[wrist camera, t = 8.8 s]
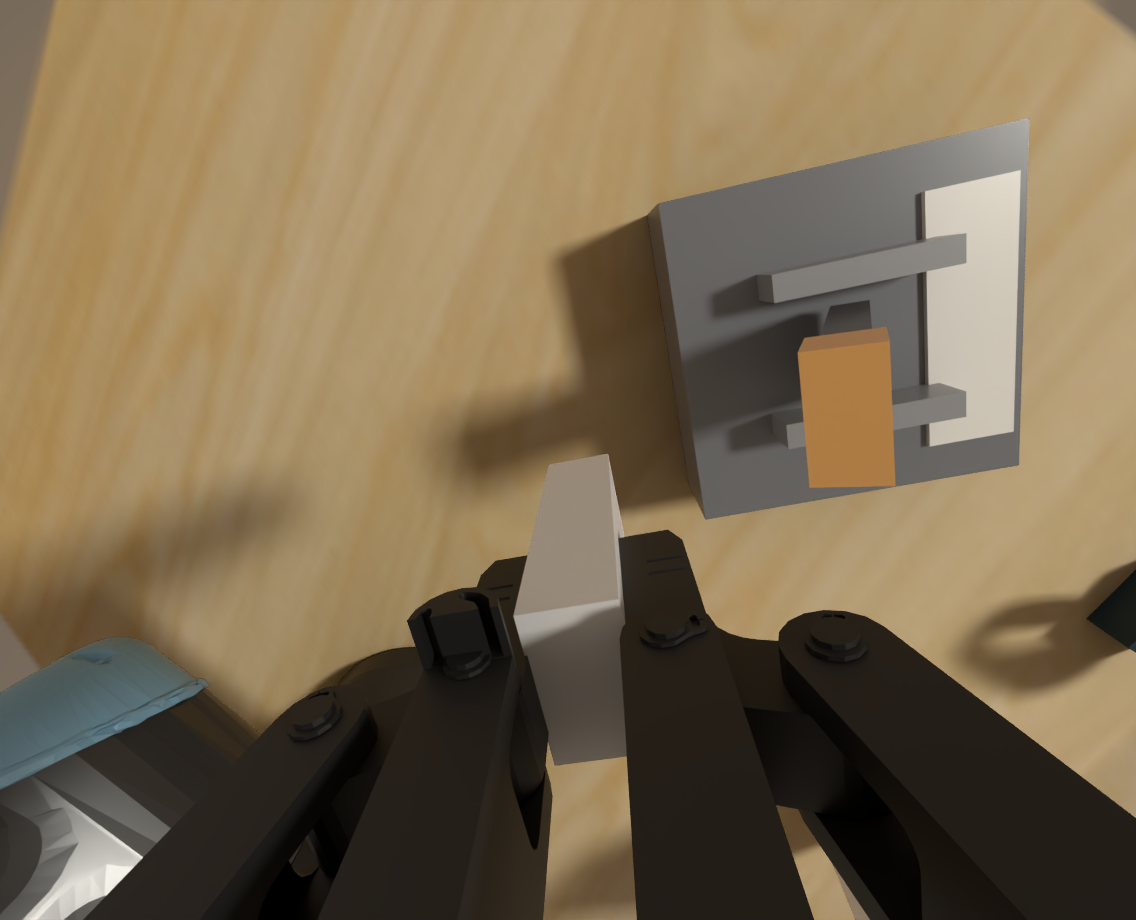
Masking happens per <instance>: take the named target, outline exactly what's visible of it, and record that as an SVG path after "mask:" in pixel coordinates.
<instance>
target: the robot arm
mask: <svg viewBox="0 0 1136 920" xmlns="http://www.w3.org/2000/svg"><path fill="white" fill-rule="evenodd" d="M407 622H408V625H409V628H410V631H411V634H412V637H413V640H414V643H415V646H416V648H403V649H396V650H391V651H387V652H383V653H380V654H377V655H375V656H372V657H370V658H368V659H366V660H364V661H362V662H361V663H359V664H358V665H356V666H355V667H354V668H352V669H351V670H350V671H349V672H348V673H347V674H346V675H345V676H344V677H343V678H342V679H341V681H340V682H339V683H338V685H337V686H334V687H329V688H325V689H322V690H321V691H316V692H314V693H311V694H309V695H308V696H307V697H305V698H304V699H302V700H300V701H298V702H297V703H295V704H293V705H292V706H291V707H290V708H289V709H288V710H286V711H285V712H284V713H283V714H282V715H280V716H279V717H278V718H277V719H276V720H275V721H274V722H273V723H272V724H271V725H270V726H269V727H268V729H267V730H266V731H265V732H264V733H263V734H262V735H261V734H260V733H259V732H258V731H256V730H255V729H254V728H253V727H252V726H250V725H249V724H248V723H247V722H246V721H244V720H243V719H242V718H241V717H240V716H238V715H237V714H236V713H235V712H234V711H232V710H231V709H230V708H229V707H228V706H226V705H225V704H224V703H223V702H222V701H220V700H219V699H218V698H217V697H216V696H214V695H213V694H212V693H211V692H210V691H208V690H207V689H206V687H208V686H209V685H210V684H209V683H208V682H207V681H206V680H204V679H201V678H199V679H195V678H194V677H193V676H191V675H190V674H188V673H187V672H186V671H184V670H183V669H182V668H180V667H179V666H178V665H176V664H175V663H174V662H172V661H171V660H170V659H168V658H167V657H166V656H164V655H163V654H162V653H160V652H159V651H158V650H156V649H155V648H153V647H152V646H151V645H149V644H147V643H146V642H144V641H141V640H138V639H135V638H129V637H113V638H107V639H103V640H99V641H96V642H94V643H91V644H88V645H86V646H83V647H81V648H79V649H77V650H75V651H73V652H71V653H69V654H67V655H65V656H63V657H62V658H60V659H58V660H56V661H54V662H53V663H51V664H49V665H47V666H45V667H44V668H42V669H40V670H39V671H37V672H35V673H33V674H32V675H30V676H28V677H26V678H25V679H23V680H22V681H19V682H18V683H16V684H14V685H13V686H11V687H9V688H7V689H6V690H4V691H2V692H1V693H0V920H543V913H544V900H545V887H546V874H547V861H548V848H549V835H550V822H551V809H552V790H551V783H550V780H549V776H548V773H547V769H546V766H545V764H546V754H547V744H548V743H549V746H550V750H551V754H552V757H553V761H554V764H555V765H563V764H571V763H579V762H586V761H594V760H602V759H610V758H618V757H625V756H627V767H628V783H629V799H630V815H631V831H632V847H633V863H634V879H635V895H636V911H637V920H814V918H813V915H812V912H811V909H810V906H809V903H808V900H807V897H806V894H805V891H804V888H803V885H802V882H801V879H800V876H799V873H798V870H797V867H796V864H795V861H794V858H793V855H792V852H791V849H790V846H789V843H788V840H787V837H786V834H785V831H784V828H783V825H782V822H781V819H780V816H779V813H778V810H777V807H776V805H779V806H785V807H790V808H796V809H799V811H800V813H801V816H802V818H803V820H804V822H805V823H806V825H807V826H808V828H809V829H810V831H811V832H812V834H813V835H814V837H815V838H816V840H817V841H818V843H819V844H820V846H821V847H822V849H823V850H824V852H825V853H826V855H827V856H828V858H829V859H830V861H831V862H832V864H833V865H834V867H835V868H836V870H837V871H838V873H839V874H840V876H841V877H842V879H843V880H844V882H845V883H846V885H847V886H848V888H849V889H850V891H851V892H852V894H853V895H854V897H855V898H856V900H857V901H858V903H859V904H860V906H861V907H862V909H863V910H864V912H865V913H866V915H867V916H868V918H869V919H870V920H1136V818H1135V817H1134V816H1132V815H1131V814H1130V813H1128V812H1127V811H1126V810H1124V809H1123V808H1122V807H1121V806H1119V805H1118V804H1117V803H1115V802H1114V801H1113V800H1111V799H1110V798H1109V797H1107V796H1106V795H1105V794H1103V793H1102V792H1101V791H1100V790H1098V789H1097V788H1096V787H1094V786H1093V785H1092V784H1090V783H1089V782H1088V781H1086V780H1085V779H1084V778H1082V777H1081V776H1080V775H1078V774H1077V773H1076V772H1075V771H1073V770H1072V769H1071V768H1069V767H1068V766H1067V765H1065V764H1064V763H1063V762H1061V761H1060V760H1059V759H1057V758H1056V757H1055V756H1054V755H1052V754H1051V753H1050V752H1048V751H1047V750H1046V749H1044V748H1043V747H1042V746H1040V745H1039V744H1038V743H1036V742H1035V741H1034V740H1032V739H1031V738H1030V737H1029V736H1027V735H1026V734H1025V733H1023V732H1022V731H1021V730H1019V729H1018V728H1017V727H1015V726H1014V725H1013V724H1011V723H1010V722H1009V721H1008V720H1006V719H1005V718H1004V717H1002V716H1001V715H1000V714H998V713H997V712H996V711H994V710H993V709H992V708H990V707H989V706H988V705H986V704H985V703H984V702H983V701H981V700H980V699H979V698H977V697H976V696H975V695H973V694H972V693H971V692H969V691H968V690H967V689H965V688H964V687H963V686H962V685H960V684H959V683H958V682H956V681H955V680H954V679H952V678H951V677H950V676H948V675H947V674H946V673H944V672H943V671H942V670H940V669H939V668H938V667H937V666H935V665H934V664H933V663H931V662H930V661H929V660H927V659H926V658H925V657H923V656H922V655H921V654H919V653H918V652H917V651H916V650H914V649H913V648H912V647H910V646H909V645H908V644H906V643H905V642H904V641H902V640H901V639H900V638H898V637H897V636H896V635H894V634H893V633H892V632H891V631H889V630H888V629H887V628H885V627H884V626H882V625H880V624H879V623H877V622H875V621H873V620H871V619H869V618H868V617H865V616H862V615H858V614H854V613H850V612H846V611H831V610H822V611H816V612H810V613H804V614H802V615H800V616H798V617H796V618H794V619H792V620H790V621H788V622H787V623H786V625H785V626H784V627H783V628H782V629H781V630H780V632H779V640H778V641H770V640H756V639H749V638H742V637H739V636H736V635H733V634H730V633H727V632H725V631H724V630H722V629H720V628H718V627H717V626H716V625H715V623H714V622H713V621H712V619H711V618H710V616H709V615H708V614H706V612H705V608H704V605H703V602H702V599H701V596H700V593H699V590H698V587H697V584H696V581H695V578H694V575H693V571H692V568H691V565H690V562H689V559H688V556H687V553H686V550H685V547H684V544H683V541H682V539H680V538H679V537H678V536H676V535H675V534H673V533H672V532H670V531H669V530H663V531H657V532H651V533H645V534H640V535H634V536H628V537H624V531H623V526H622V521H621V516H620V511H619V506H618V501H617V496H616V491H615V486H614V481H613V476H612V471H611V466H610V461H609V456H608V454H603V455H598V456H592V457H587V458H582V459H576V460H571V461H565V462H560V463H555V464H549V466H548V471H547V475H546V479H545V483H544V488H543V492H542V496H541V500H540V505H539V509H538V513H537V517H536V522H535V526H534V530H533V534H532V539H531V543H530V547H529V552H528V555H527V556H521V557H515V558H509V559H503V560H498V561H495V562H494V563H493V564H492V565H491V566H490V567H489V568H488V569H487V570H486V571H485V572H484V573H483V574H482V575H481V577H480V580H479V582H478V585H477V587H473V588H461V589H457V590H454V591H450V592H446V593H444V594H441V595H439V596H437V597H435V598H433V599H431V600H429V601H427V602H426V603H425V604H423V605H422V606H420V607H419V608H418V609H416V610H415V611H414V613H413V614H412V615H411V616H410V618H409V619H408V620H407Z"/></svg>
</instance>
